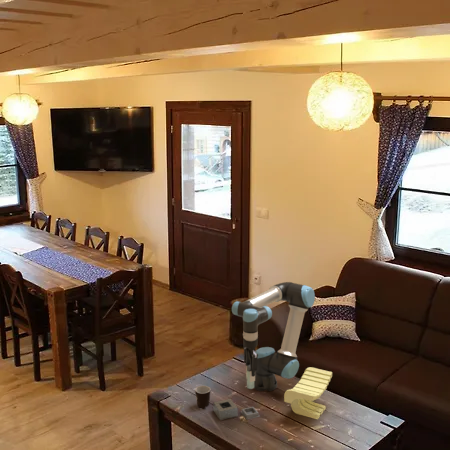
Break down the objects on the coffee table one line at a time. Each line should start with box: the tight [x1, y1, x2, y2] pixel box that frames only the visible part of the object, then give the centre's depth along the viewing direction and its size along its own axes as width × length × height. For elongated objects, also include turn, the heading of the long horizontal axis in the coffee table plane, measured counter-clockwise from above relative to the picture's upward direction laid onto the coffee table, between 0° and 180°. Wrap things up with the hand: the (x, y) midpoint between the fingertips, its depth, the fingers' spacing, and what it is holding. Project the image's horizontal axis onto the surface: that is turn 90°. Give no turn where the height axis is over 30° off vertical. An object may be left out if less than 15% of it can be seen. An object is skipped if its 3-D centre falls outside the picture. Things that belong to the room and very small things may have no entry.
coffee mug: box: [194, 385, 211, 410], centre depth 317 cm, size 12×9×10 cm
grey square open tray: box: [240, 406, 261, 420], centre depth 306 cm, size 8×8×3 cm
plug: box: [246, 365, 254, 390], centre depth 302 cm, size 4×4×12 cm
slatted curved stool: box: [283, 366, 333, 420], centre depth 310 cm, size 30×16×18 cm, turn 150°
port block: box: [212, 398, 239, 421], centre depth 307 cm, size 10×10×6 cm
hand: (250, 379), depth 302 cm, fingers closed on plug, 4 cm apart
